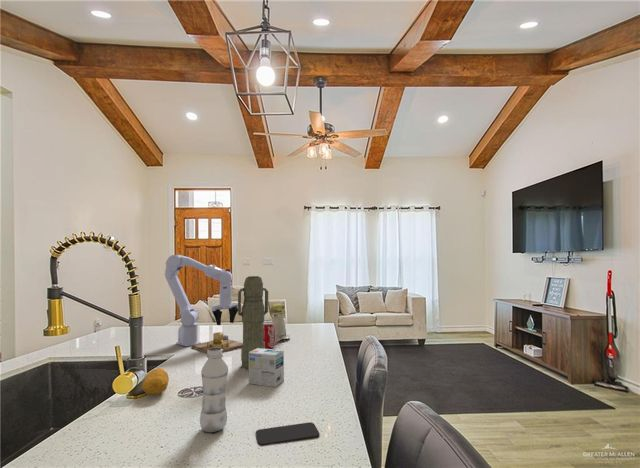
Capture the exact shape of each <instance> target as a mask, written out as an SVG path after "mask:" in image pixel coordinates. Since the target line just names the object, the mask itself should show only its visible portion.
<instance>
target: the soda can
mask: <svg viewBox="0 0 640 468" xmlns="http://www.w3.org/2000/svg"><path fill="white" fill-rule="evenodd" d="M275 345H276V343H275V326H274V323H273V322H272V321H264V322H263V347H264V349H273V350H274V349H275Z"/></svg>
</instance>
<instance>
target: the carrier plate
mask: <svg viewBox="0 0 640 468" xmlns="http://www.w3.org/2000/svg"><path fill="white" fill-rule="evenodd" d="M223 340H228V342H229V347H226V348H224V349H222V354H223V353H225V352H229V351H235V350H239V349H242V346H243V342H242V341H236V340H234V339H229V335H226V334H223ZM210 341H211V340H209V341H204V342H201V343H199V344H194V345H191V348H192V349H194V348H195V350H198V351H201V352H204V353H207V350H208V347H207V342H210ZM234 349H235V350H234Z"/></svg>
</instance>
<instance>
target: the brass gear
mask: <svg viewBox="0 0 640 468" xmlns="http://www.w3.org/2000/svg"><path fill="white" fill-rule="evenodd" d="M223 335H224V332H221V331H220V332H219V331H218V332H214V333H213V334H212V337H213V338H212V340H209V341H210V342H208V341H206V342H207V347H208V349H210V348H222V349H224V348H226V347H229V342H228V340H223Z"/></svg>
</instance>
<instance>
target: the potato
mask: <svg viewBox="0 0 640 468" xmlns="http://www.w3.org/2000/svg"><path fill="white" fill-rule="evenodd" d="M145 376H146V378H145V377H144V378H145V379H144V378H143V380H142V382H141V389H142V391H143V392H145V393H146V394H147V395H151V396H154V395H155V396H156V395H160V394H161V393H163V392H165V391H166V390H167V387H168V385H169V381H170V380H169V374H168V373H167V371H166V370H165V369H164V368H161V367H158V368H154V369H152V370H150V371H148V372H147V373H146V375H145Z"/></svg>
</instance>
